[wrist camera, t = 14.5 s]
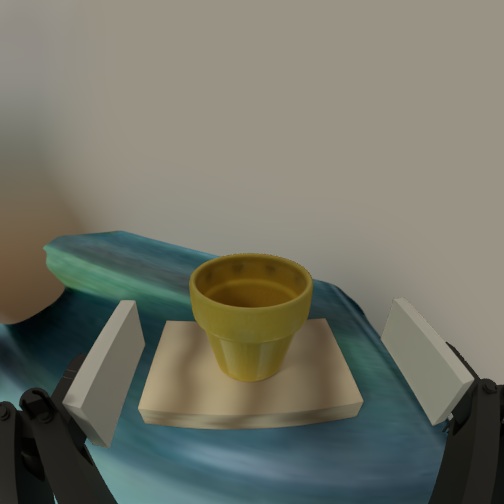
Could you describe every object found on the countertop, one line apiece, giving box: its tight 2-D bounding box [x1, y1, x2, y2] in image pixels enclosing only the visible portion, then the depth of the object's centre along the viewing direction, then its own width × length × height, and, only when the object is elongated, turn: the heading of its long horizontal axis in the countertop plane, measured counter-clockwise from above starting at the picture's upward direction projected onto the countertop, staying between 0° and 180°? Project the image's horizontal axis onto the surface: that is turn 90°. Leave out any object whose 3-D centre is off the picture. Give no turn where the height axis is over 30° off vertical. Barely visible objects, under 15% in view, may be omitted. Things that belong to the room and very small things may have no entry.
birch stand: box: [138, 318, 364, 429], centre depth 27 cm, size 20×14×2 cm
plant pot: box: [189, 253, 313, 382], centre depth 25 cm, size 10×10×10 cm
